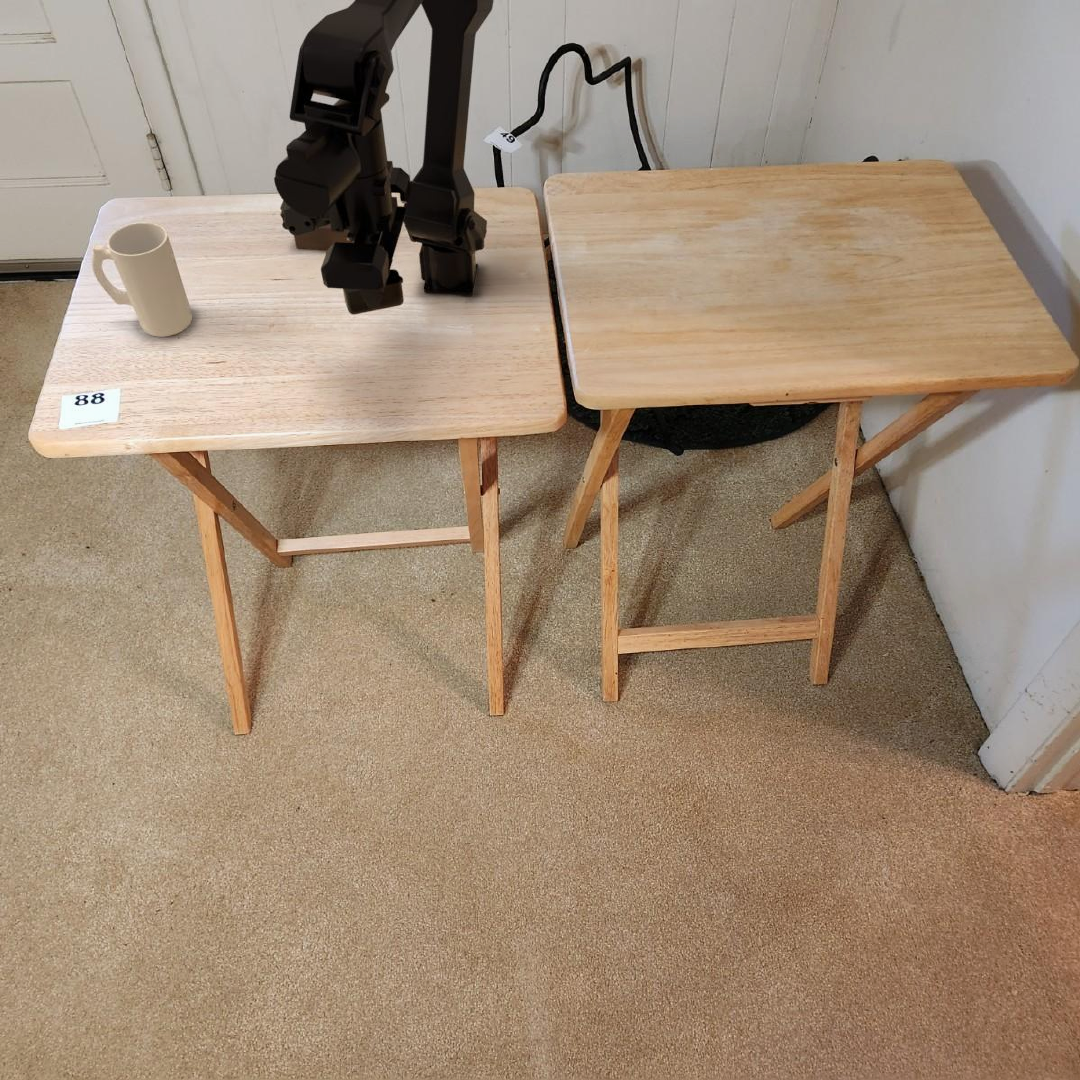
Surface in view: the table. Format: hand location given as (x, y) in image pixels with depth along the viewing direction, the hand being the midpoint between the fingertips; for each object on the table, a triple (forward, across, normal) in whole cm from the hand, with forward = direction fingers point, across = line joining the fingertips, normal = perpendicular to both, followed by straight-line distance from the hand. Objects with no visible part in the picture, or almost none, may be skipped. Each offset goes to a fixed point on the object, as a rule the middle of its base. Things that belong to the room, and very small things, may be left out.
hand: (378, 291), depth 109 cm
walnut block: (+11, -26, -13) cm, 31 cm away
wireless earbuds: (+1, 0, 0) cm, 1 cm away
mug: (+11, -5, -31) cm, 33 cm away
